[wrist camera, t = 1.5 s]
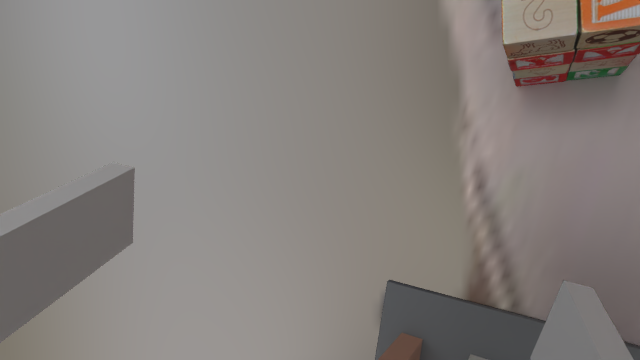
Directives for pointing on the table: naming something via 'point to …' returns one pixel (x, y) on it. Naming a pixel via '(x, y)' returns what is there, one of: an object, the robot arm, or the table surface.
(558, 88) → the table surface
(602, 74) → the patterned cardboard box
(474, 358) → the domino
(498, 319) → the mat
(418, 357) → the domino
